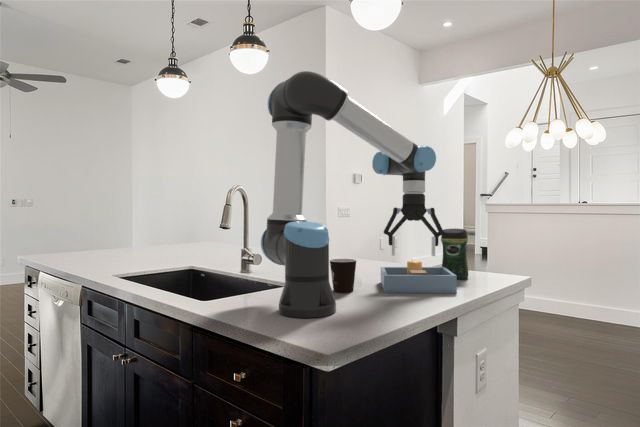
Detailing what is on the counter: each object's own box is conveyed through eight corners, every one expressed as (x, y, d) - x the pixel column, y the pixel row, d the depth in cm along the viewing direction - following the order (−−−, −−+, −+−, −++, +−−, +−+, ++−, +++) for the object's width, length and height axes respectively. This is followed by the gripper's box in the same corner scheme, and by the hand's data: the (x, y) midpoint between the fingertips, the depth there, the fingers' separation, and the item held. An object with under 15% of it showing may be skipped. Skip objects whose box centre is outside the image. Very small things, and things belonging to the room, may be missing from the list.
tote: (456, 293, 134) (456, 275, 134) (384, 292, 136) (384, 275, 136) (444, 282, 153) (444, 267, 152) (380, 282, 154) (380, 267, 154)
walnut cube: (427, 288, 138) (427, 272, 137) (411, 288, 138) (411, 272, 138) (424, 285, 143) (424, 270, 142) (409, 285, 143) (409, 270, 143)
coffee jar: (469, 277, 163) (469, 228, 163) (466, 280, 156) (466, 229, 156) (443, 275, 168) (443, 227, 167) (439, 278, 160) (439, 228, 160)
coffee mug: (354, 294, 135) (354, 262, 134) (327, 293, 136) (327, 261, 136) (359, 287, 146) (358, 257, 146) (334, 286, 148) (333, 257, 148)
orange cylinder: (423, 283, 145) (422, 262, 145) (408, 283, 146) (407, 262, 146) (421, 280, 150) (420, 261, 150) (406, 280, 151) (406, 261, 151)
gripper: (448, 194, 150) (447, 254, 151) (376, 193, 152) (376, 253, 153) (453, 193, 143) (452, 257, 143) (377, 192, 145) (377, 255, 145)
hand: (413, 255), depth 148 cm, fingers open, 13 cm apart
